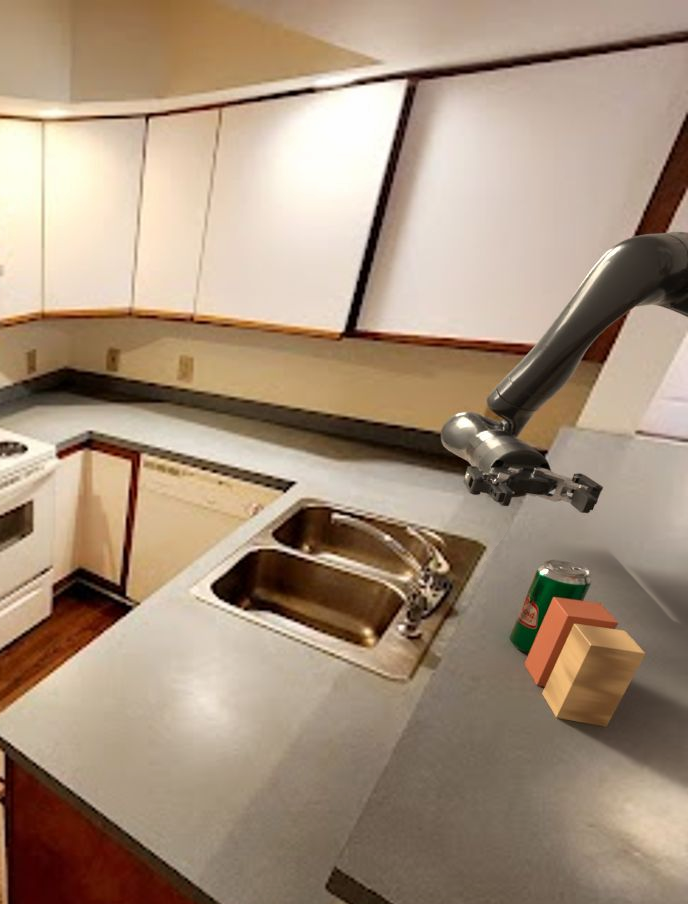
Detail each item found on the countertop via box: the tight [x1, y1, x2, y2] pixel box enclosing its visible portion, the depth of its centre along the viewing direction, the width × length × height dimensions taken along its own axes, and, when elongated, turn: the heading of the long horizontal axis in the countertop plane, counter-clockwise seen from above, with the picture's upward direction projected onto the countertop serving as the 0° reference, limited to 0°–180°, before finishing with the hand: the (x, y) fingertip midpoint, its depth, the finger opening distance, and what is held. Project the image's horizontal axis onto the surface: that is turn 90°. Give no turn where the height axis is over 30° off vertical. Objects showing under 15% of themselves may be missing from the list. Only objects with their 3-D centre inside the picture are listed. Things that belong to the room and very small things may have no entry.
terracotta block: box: [524, 597, 619, 688], centre depth 74 cm, size 4×4×10 cm
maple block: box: [541, 624, 646, 728], centre depth 69 cm, size 4×4×10 cm
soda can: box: [509, 559, 592, 655], centre depth 79 cm, size 5×5×12 cm
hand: (547, 502), depth 83 cm, fingers open, 8 cm apart
